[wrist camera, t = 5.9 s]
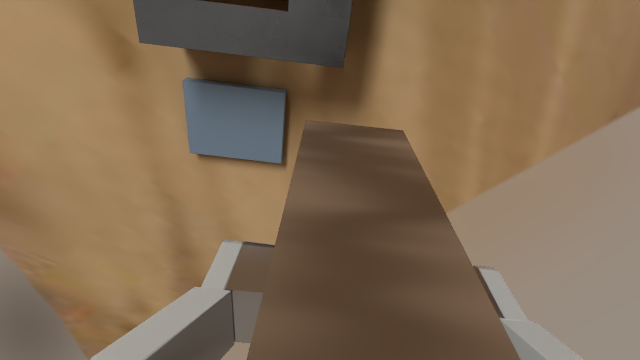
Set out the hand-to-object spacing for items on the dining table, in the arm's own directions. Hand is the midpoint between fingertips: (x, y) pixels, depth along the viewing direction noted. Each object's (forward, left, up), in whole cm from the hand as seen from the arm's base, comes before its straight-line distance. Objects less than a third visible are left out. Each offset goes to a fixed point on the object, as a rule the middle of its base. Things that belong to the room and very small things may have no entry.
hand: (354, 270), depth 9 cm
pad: (+9, +5, -23) cm, 25 cm away
